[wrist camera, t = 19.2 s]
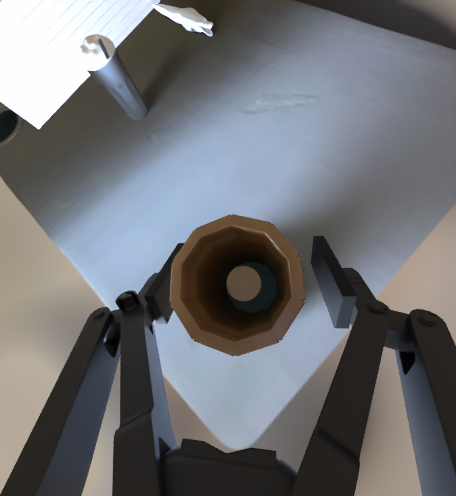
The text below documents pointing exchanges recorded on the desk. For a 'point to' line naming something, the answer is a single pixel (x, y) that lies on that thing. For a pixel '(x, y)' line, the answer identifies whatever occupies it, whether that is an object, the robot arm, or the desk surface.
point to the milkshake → (111, 74)
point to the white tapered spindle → (186, 18)
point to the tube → (215, 290)
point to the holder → (251, 287)
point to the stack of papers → (55, 48)
